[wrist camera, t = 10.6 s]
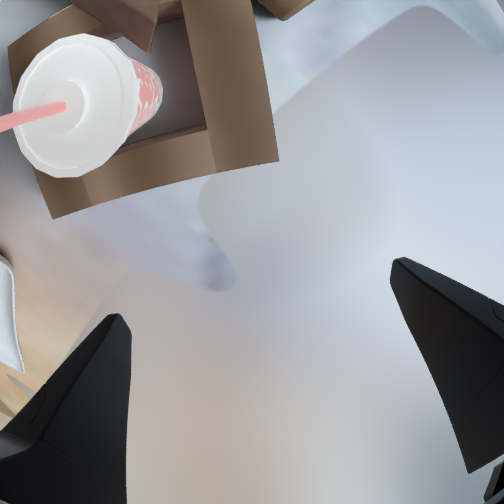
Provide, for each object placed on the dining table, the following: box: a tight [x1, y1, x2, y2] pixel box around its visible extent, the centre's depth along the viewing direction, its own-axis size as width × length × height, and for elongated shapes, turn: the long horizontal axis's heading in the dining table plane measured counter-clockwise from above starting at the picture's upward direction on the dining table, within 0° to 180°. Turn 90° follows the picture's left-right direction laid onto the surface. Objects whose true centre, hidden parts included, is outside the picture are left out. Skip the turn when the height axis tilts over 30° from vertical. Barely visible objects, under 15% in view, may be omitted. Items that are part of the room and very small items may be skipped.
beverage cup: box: [0, 33, 163, 178], centre depth 10 cm, size 6×6×14 cm
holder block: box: [8, 0, 279, 219], centre depth 13 cm, size 15×13×4 cm
